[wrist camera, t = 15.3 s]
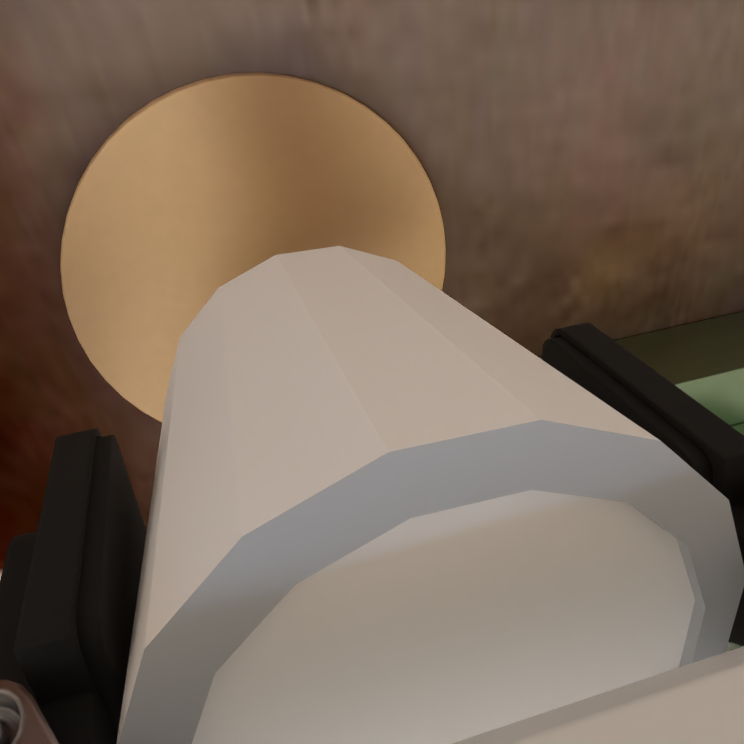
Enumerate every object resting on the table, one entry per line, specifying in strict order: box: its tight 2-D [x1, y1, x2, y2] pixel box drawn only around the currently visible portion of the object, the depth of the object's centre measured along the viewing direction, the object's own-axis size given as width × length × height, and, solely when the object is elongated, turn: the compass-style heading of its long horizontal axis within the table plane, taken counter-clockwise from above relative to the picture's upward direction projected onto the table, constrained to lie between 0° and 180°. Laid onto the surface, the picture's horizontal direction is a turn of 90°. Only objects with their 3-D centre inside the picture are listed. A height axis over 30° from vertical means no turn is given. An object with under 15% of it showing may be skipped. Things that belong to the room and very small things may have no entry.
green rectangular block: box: [540, 311, 744, 435], centre depth 24 cm, size 14×11×5 cm
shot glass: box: [116, 246, 744, 744], centre depth 10 cm, size 7×7×7 cm
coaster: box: [60, 72, 446, 422], centre depth 19 cm, size 10×10×1 cm
